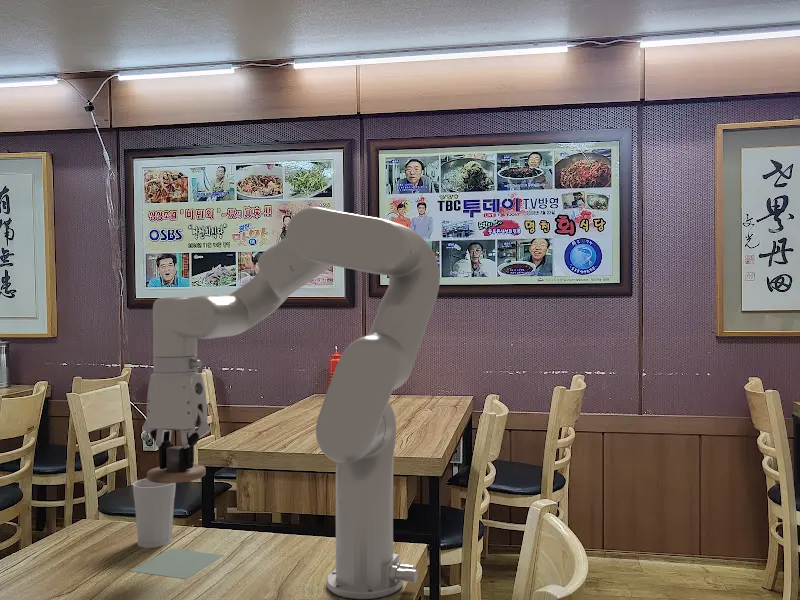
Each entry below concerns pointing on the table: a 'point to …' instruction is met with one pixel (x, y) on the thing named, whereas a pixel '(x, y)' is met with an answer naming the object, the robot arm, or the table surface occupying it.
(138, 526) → the cup
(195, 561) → the mat
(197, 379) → the robot arm
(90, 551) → the table surface
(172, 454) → the lid
